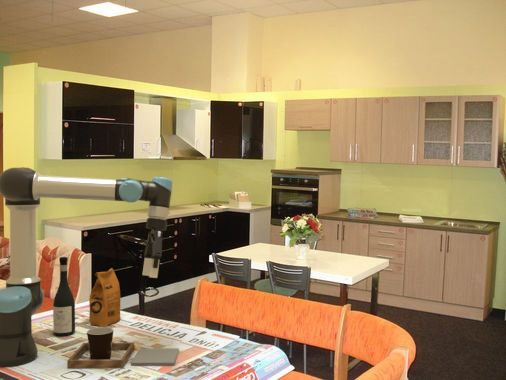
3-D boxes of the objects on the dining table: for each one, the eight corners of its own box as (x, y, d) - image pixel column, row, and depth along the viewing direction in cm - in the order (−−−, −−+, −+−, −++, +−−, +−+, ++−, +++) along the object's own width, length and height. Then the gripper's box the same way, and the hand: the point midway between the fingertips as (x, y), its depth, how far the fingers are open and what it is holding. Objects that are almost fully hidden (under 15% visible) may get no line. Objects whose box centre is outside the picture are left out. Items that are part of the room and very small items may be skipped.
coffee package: (85, 325, 222) (84, 272, 221) (105, 317, 234) (104, 267, 233) (104, 328, 218) (104, 274, 217) (123, 320, 229) (123, 268, 229)
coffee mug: (106, 365, 177) (106, 335, 176) (82, 363, 178) (82, 333, 178) (121, 353, 188) (121, 325, 188) (99, 351, 190) (98, 323, 189)
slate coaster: (131, 365, 176) (130, 362, 176) (139, 351, 190) (139, 348, 190) (173, 365, 177) (173, 362, 177) (178, 351, 191) (178, 348, 191)
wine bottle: (70, 336, 206) (69, 259, 205) (50, 336, 207) (49, 258, 205) (78, 330, 214) (77, 255, 213) (58, 330, 215) (57, 255, 213)
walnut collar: (67, 368, 174) (67, 360, 174) (83, 349, 192) (83, 342, 192) (123, 368, 174) (123, 360, 174) (134, 349, 192) (134, 342, 192)
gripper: (175, 218, 189) (167, 279, 186) (160, 221, 213) (152, 275, 209) (154, 215, 187) (145, 277, 184) (141, 218, 210) (133, 273, 207)
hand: (149, 276), depth 197 cm, fingers open, 13 cm apart
